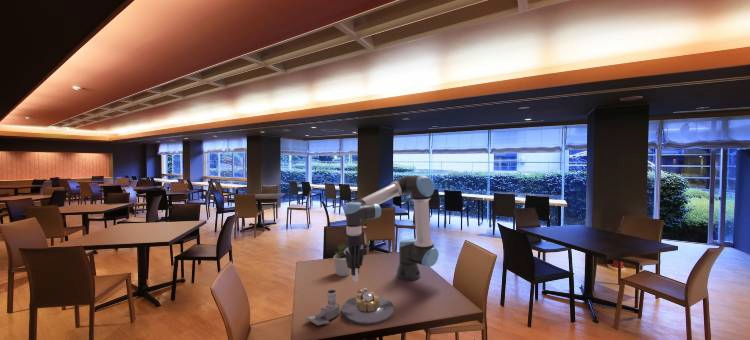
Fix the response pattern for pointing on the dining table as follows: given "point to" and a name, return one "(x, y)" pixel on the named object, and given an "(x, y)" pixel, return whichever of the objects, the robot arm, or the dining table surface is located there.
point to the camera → (326, 310)
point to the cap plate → (367, 317)
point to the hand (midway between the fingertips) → (355, 281)
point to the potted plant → (341, 262)
